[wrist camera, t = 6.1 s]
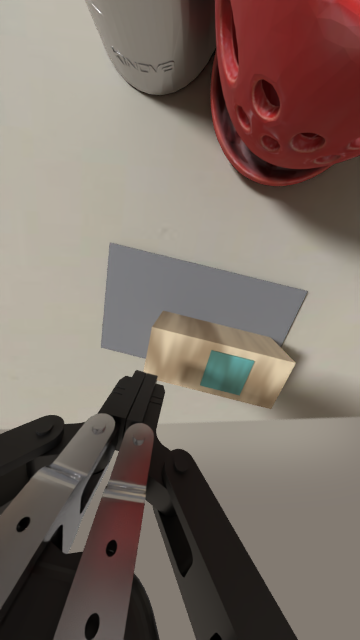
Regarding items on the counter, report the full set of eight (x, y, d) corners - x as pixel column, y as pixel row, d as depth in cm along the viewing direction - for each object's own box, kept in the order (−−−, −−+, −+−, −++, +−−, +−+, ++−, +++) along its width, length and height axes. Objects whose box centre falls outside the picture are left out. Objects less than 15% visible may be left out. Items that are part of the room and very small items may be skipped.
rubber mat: (112, 243, 17) (109, 242, 17) (304, 290, 17) (307, 291, 17) (103, 345, 21) (100, 347, 21) (259, 384, 21) (260, 387, 21)
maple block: (151, 327, 14) (296, 364, 14) (163, 310, 19) (270, 337, 19) (142, 377, 16) (271, 410, 15) (155, 349, 20) (253, 374, 20)
